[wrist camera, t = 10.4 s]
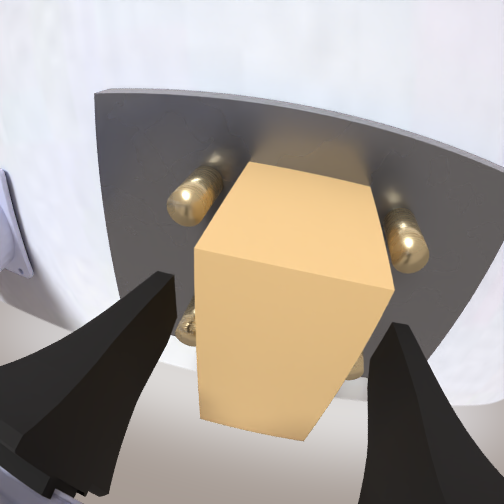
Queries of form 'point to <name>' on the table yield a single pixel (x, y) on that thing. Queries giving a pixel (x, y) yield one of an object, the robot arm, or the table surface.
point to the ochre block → (285, 297)
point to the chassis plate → (302, 159)
